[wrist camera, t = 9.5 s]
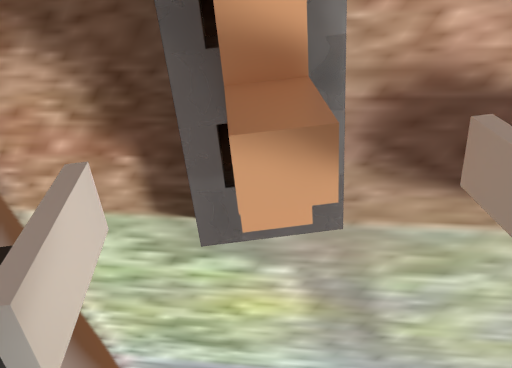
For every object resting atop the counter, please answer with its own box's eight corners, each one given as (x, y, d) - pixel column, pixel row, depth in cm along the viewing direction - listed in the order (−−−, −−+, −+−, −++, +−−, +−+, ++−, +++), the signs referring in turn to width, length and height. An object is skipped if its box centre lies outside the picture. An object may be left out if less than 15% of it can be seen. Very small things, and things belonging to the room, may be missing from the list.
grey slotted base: (331, 203, 31) (342, 228, 28) (201, 219, 30) (201, 246, 28) (331, -159, 21) (349, -171, 18) (136, -140, 20) (126, -150, 18)
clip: (289, 156, 29) (337, 295, 18) (235, 162, 28) (250, 307, 18) (277, -55, 22) (340, -36, 12) (208, -48, 22) (208, -22, 12)
